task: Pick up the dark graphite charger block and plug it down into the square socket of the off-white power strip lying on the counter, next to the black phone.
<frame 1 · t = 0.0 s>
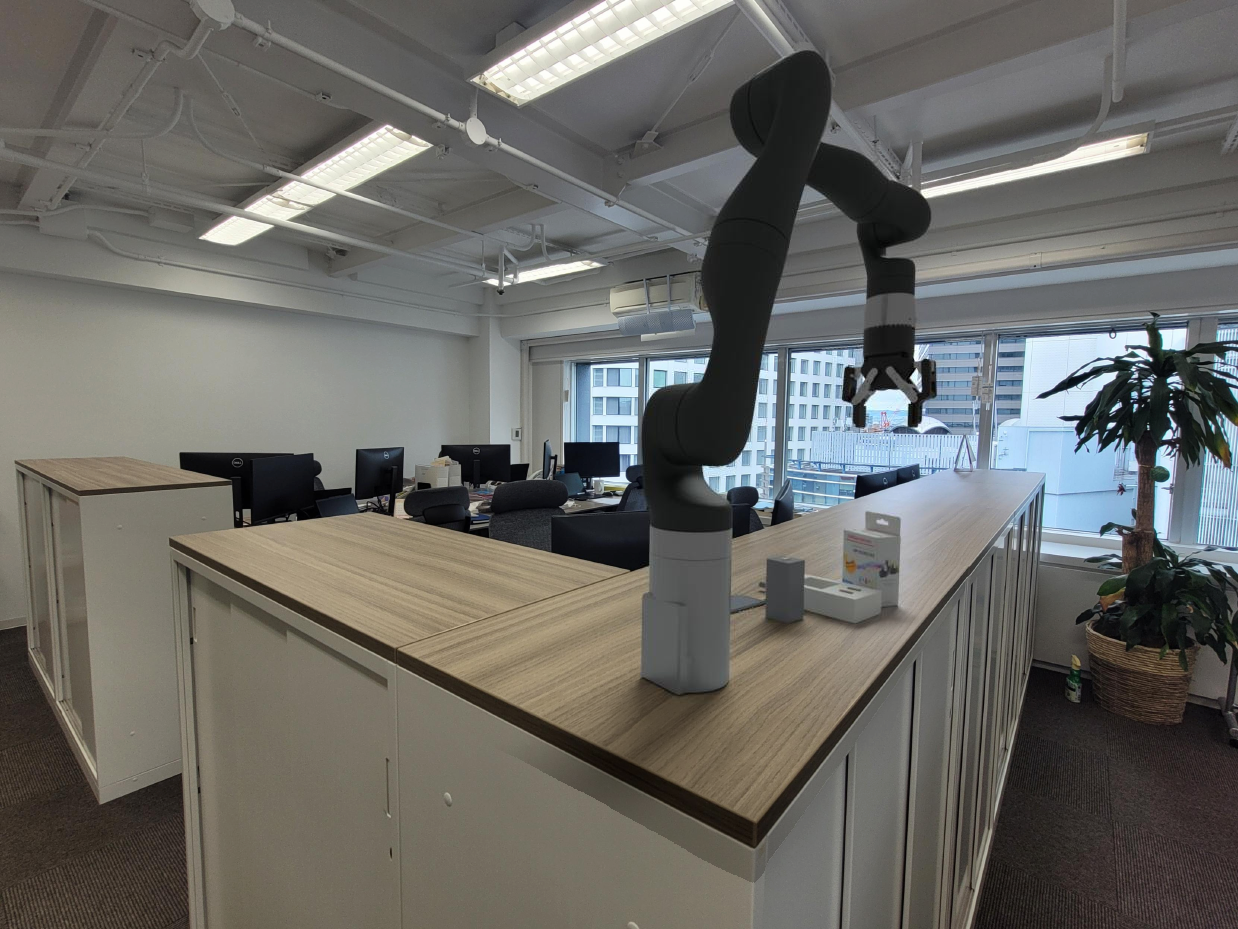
hand: (885, 427, 91), 29 cm above the table, tool pointing down, fingers open, 8 cm apart
phone: (729, 609, 91), on the table
ink box: (869, 601, 95), on the table
power strip: (820, 605, 91), on the table
charger: (784, 617, 85), on the table
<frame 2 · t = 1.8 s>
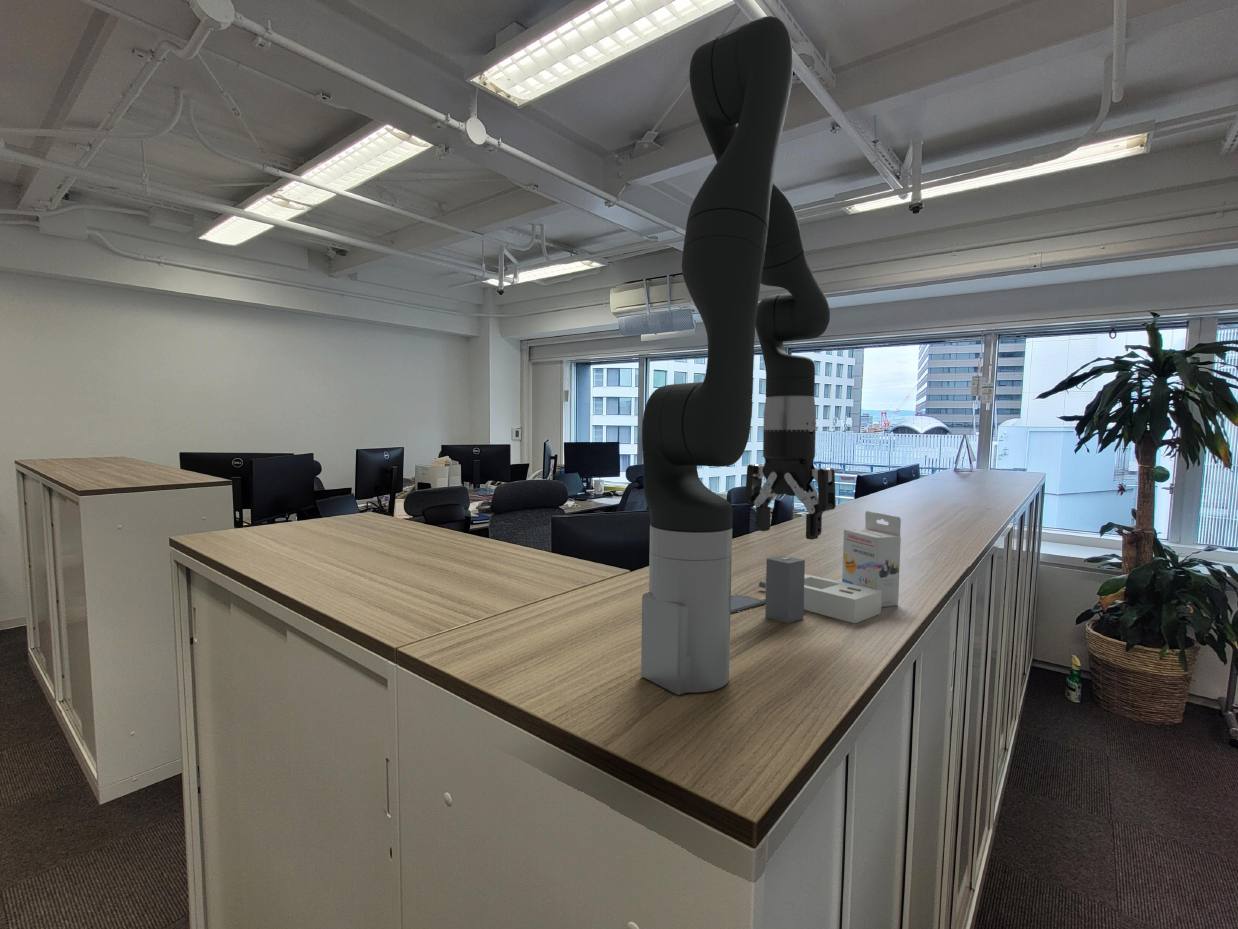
hand: (787, 534, 85), 13 cm above the table, tool pointing down, fingers open, 8 cm apart
nothing on the table moved.
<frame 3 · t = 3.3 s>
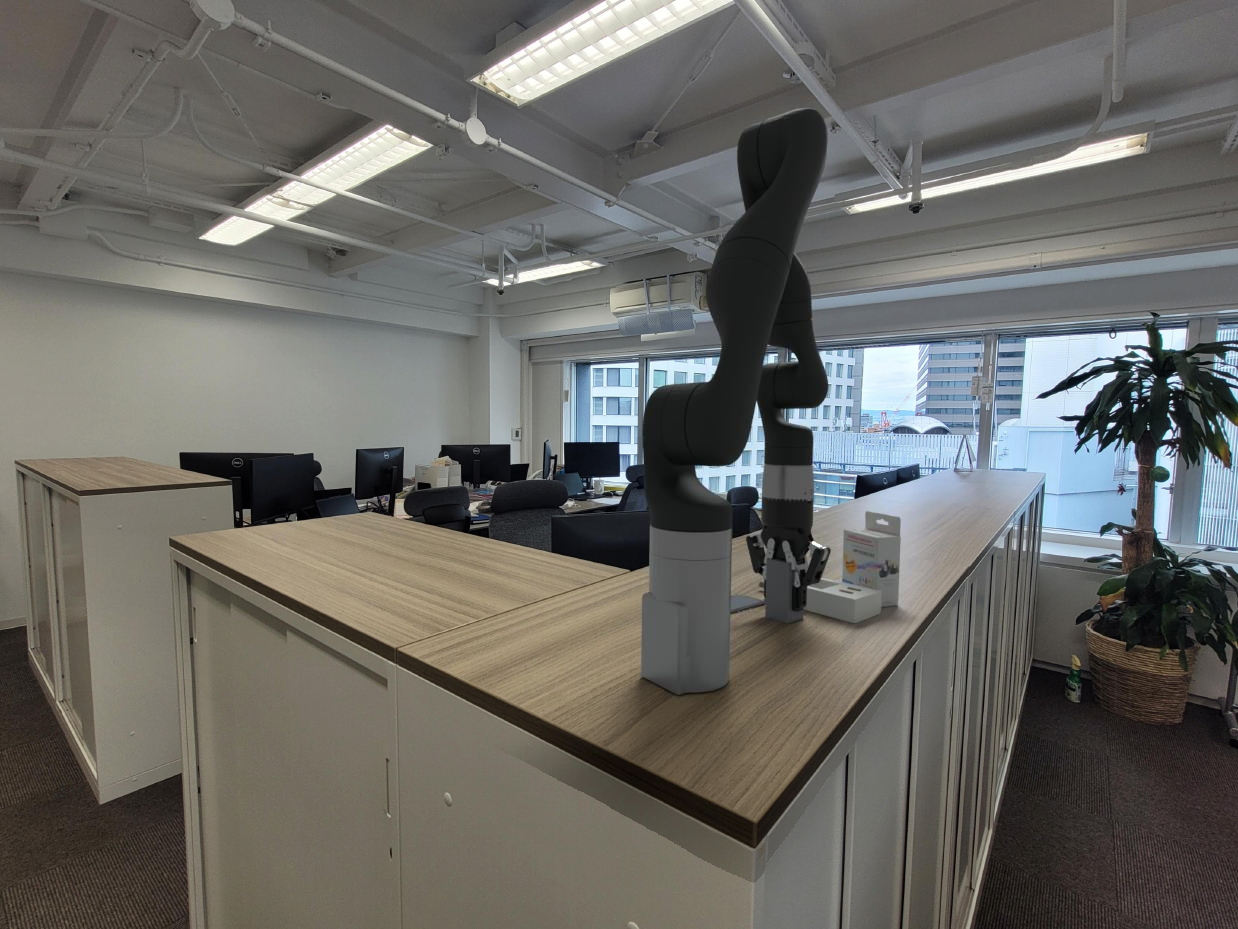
hand: (784, 606, 85), 2 cm above the table, tool pointing down, fingers closed on charger, 4 cm apart
charger: (784, 617, 85), on the table, touching gripper
everything else where it was.
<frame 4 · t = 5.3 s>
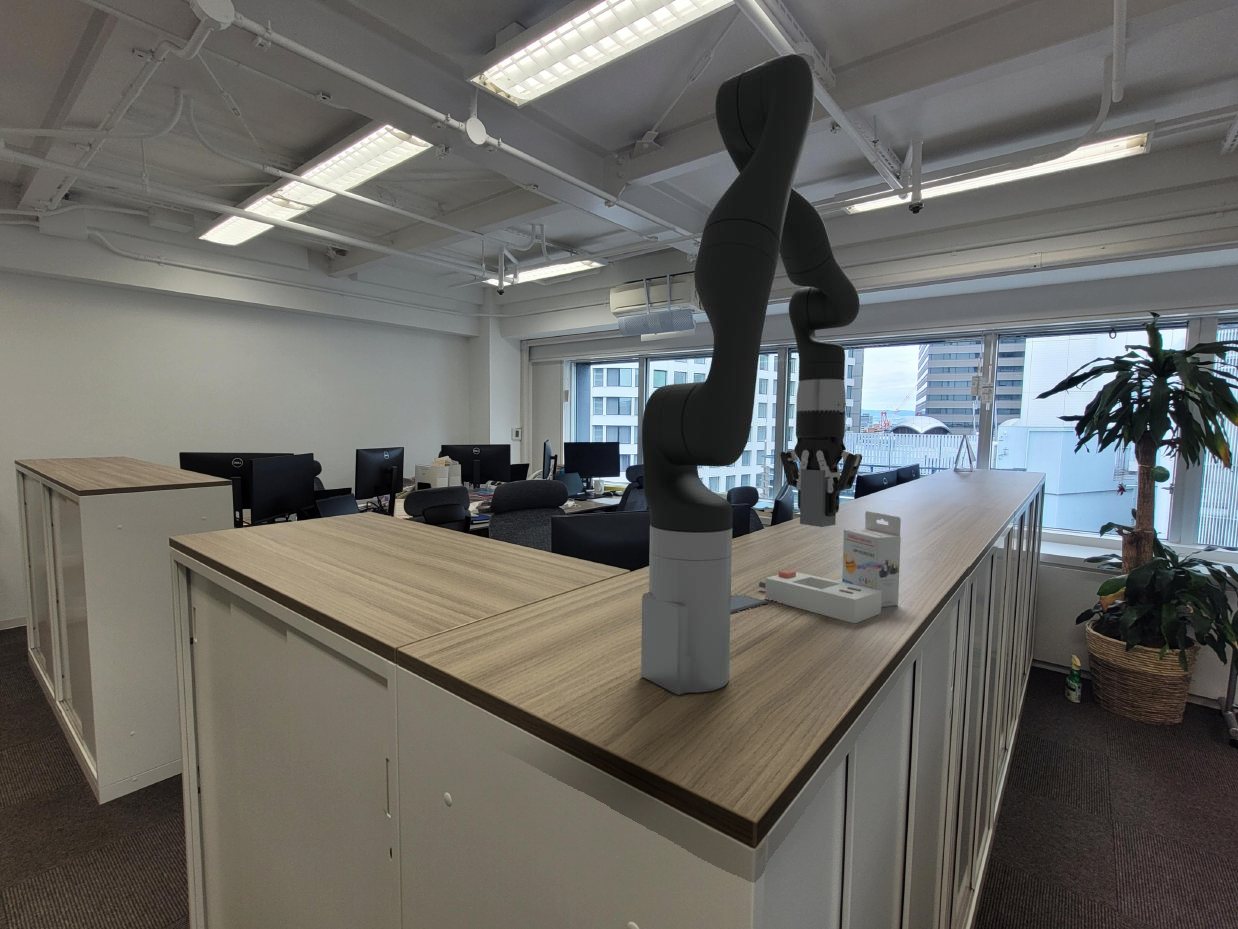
hand: (817, 513, 92), 15 cm above the table, tool pointing down, fingers closed on charger, 4 cm apart
charger: (817, 524, 92), point 13 cm above the table, touching gripper
everything else where it was.
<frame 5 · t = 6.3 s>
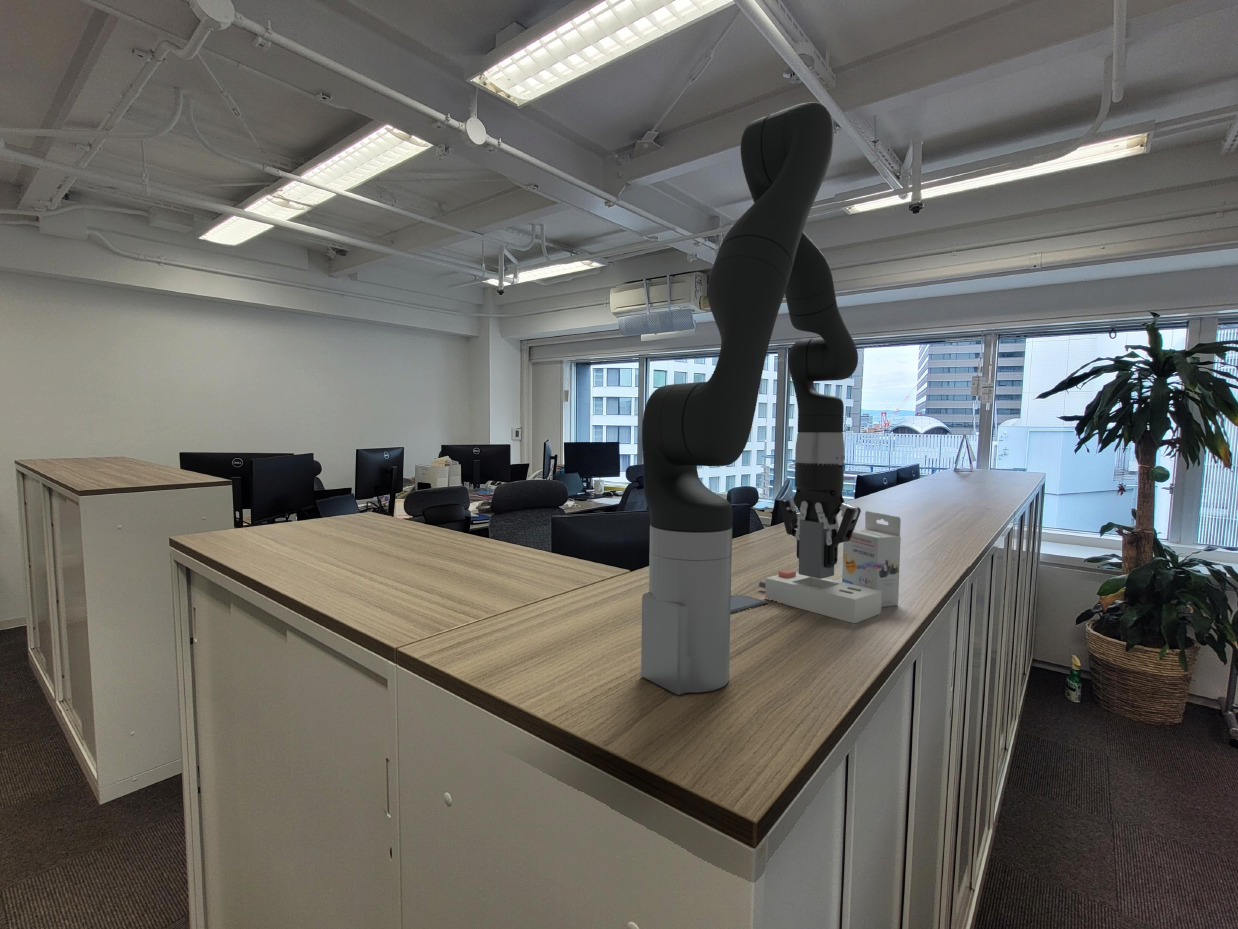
hand: (816, 564, 92), 7 cm above the table, tool pointing down, fingers closed on charger, 4 cm apart
charger: (816, 574, 92), point 5 cm above the table, touching gripper
everything else where it was.
when the fingers open (4 cm above the table, at t = 7.1 s): charger drops 2 cm, resting on power strip.
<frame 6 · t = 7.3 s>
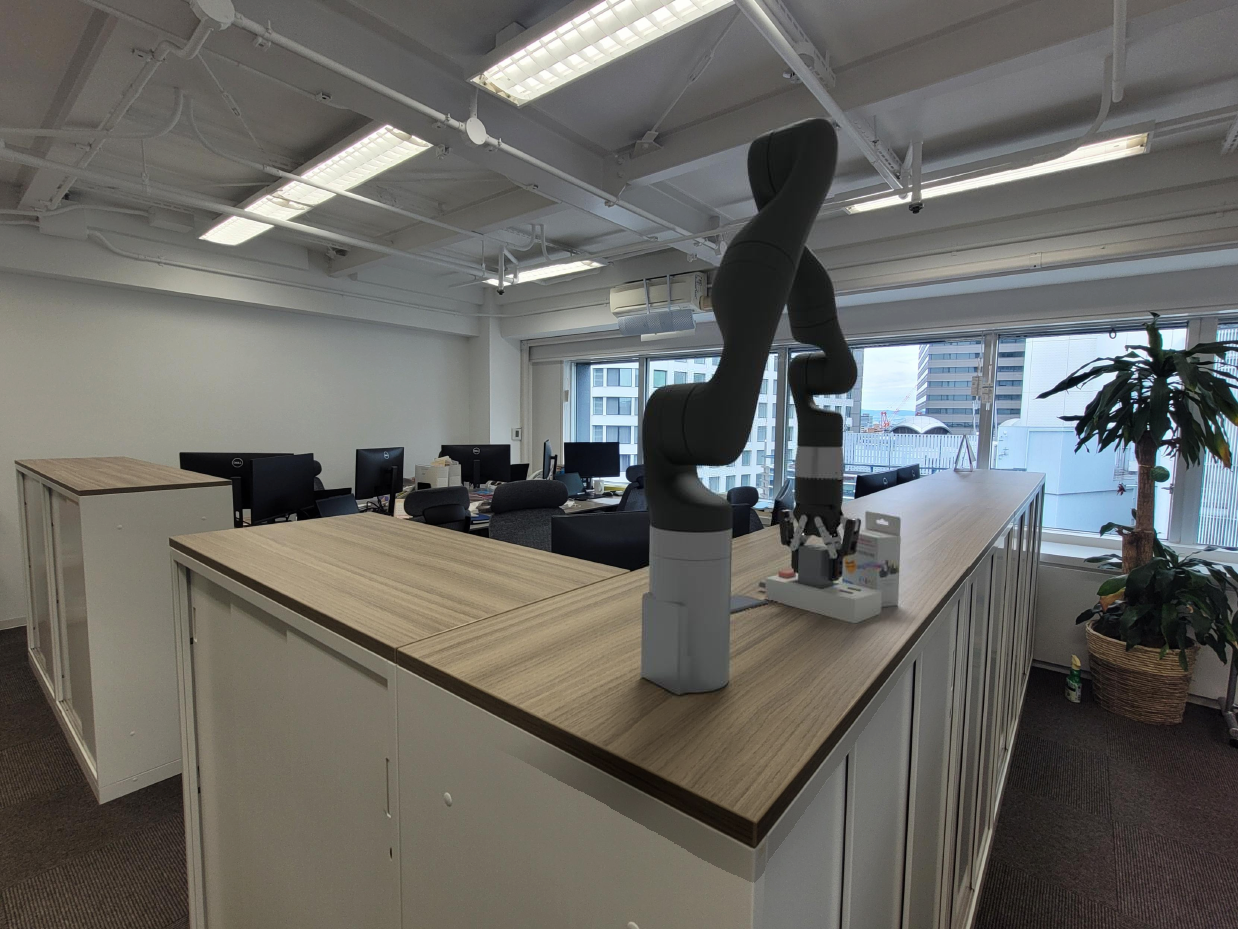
hand: (815, 576, 92), 5 cm above the table, tool pointing down, fingers open, 6 cm apart
charger: (814, 601, 92), point 1 cm above the table, touching power strip
everything else where it was.
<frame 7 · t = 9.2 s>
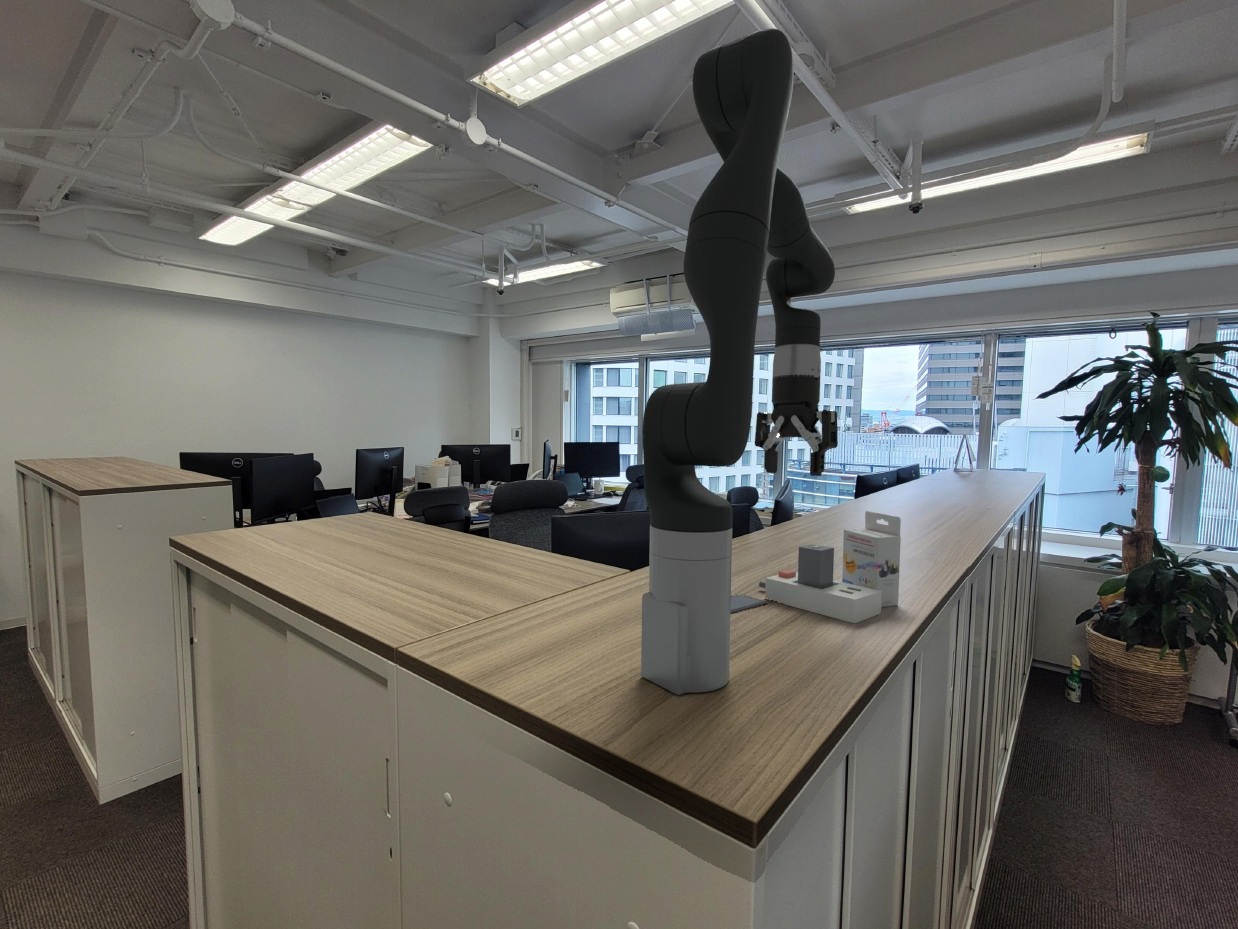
hand: (792, 474, 92), 21 cm above the table, tool pointing down, fingers open, 8 cm apart
nothing on the table moved.
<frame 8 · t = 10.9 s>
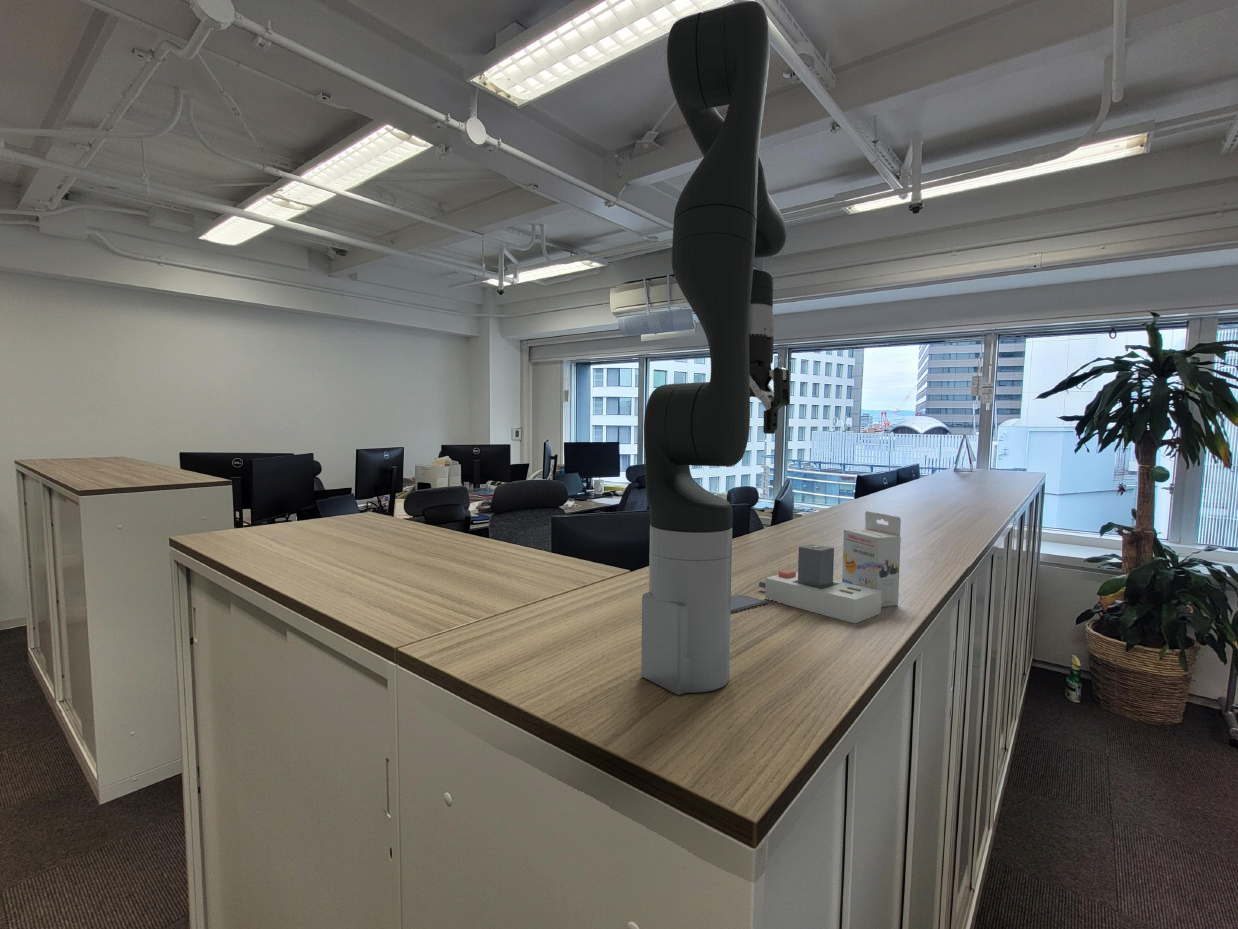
hand: (748, 433, 94), 28 cm above the table, tool pointing down, fingers open, 8 cm apart
nothing on the table moved.
at the end: charger 0.1 cm from the target spot on the power strip, point 0.5 cm above the power strip's base; charger tilted 0°; the gripper is holding nothing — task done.
